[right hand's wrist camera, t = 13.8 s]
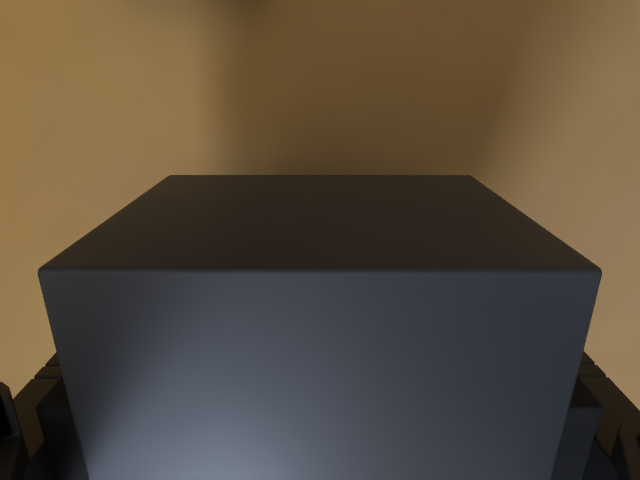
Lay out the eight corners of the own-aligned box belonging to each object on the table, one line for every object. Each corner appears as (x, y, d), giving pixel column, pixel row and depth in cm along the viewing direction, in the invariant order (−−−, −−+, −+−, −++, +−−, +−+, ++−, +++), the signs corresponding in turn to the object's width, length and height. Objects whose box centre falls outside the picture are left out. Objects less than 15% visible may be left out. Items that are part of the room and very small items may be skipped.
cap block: (168, 174, 12) (33, 269, 6) (471, 174, 12) (606, 269, 6) (197, 416, 15) (122, 629, 9) (442, 416, 15) (516, 629, 9)
